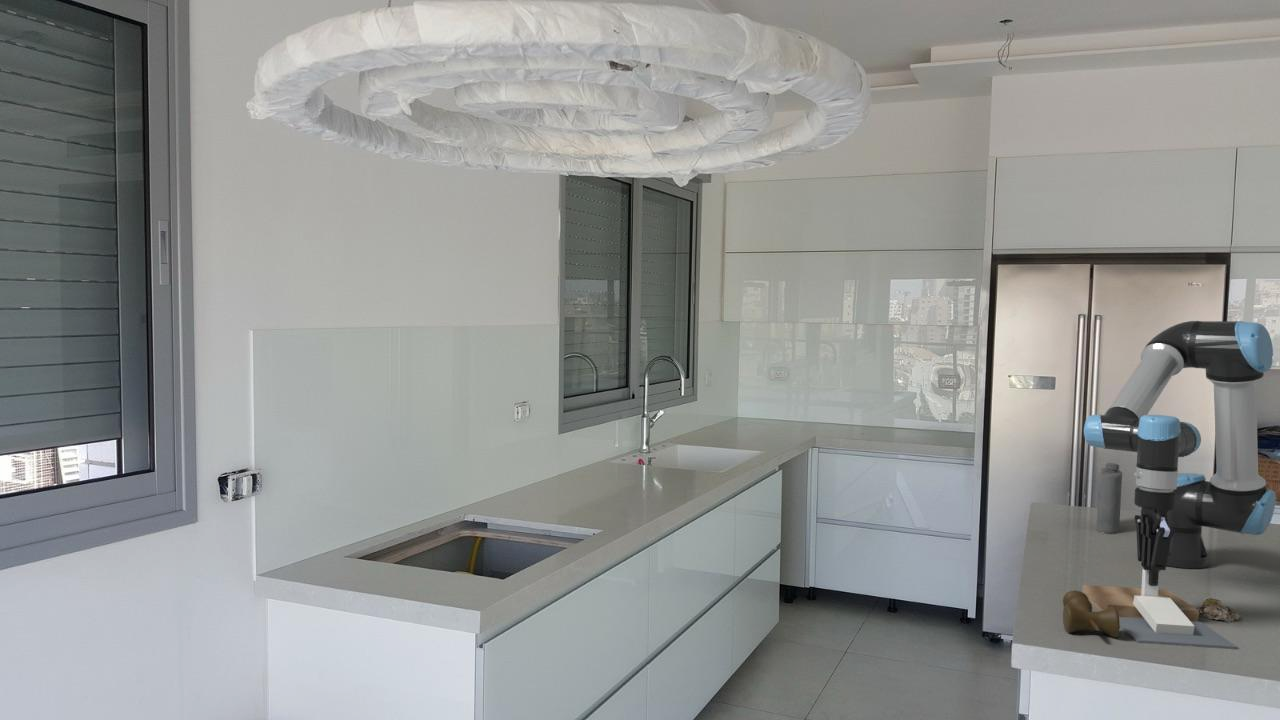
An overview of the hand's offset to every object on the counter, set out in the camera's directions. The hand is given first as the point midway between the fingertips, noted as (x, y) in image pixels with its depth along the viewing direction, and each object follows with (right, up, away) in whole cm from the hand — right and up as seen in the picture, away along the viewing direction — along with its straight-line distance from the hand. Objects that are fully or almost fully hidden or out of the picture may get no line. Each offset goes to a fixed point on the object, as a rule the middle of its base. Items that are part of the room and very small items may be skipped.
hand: (1149, 599), depth 186 cm
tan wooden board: (+1, -4, +6) cm, 7 cm away
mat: (-1, -4, -9) cm, 10 cm away
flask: (+34, -1, +81) cm, 88 cm away
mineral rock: (+16, -5, +3) cm, 17 cm away
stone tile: (-1, -3, -6) cm, 6 cm away
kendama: (-17, -4, -7) cm, 19 cm away
